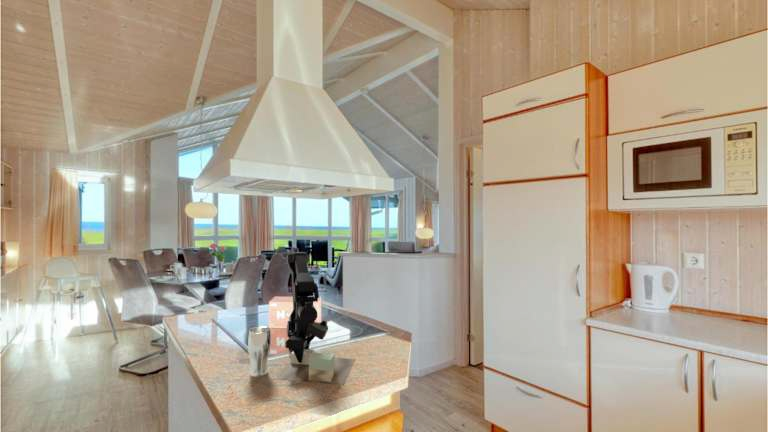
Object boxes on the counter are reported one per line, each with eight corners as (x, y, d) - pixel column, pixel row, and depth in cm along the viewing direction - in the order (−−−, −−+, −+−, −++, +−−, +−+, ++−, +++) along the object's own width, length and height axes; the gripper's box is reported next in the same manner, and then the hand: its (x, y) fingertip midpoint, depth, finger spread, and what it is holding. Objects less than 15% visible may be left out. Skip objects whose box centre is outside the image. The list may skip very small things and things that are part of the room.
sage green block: (308, 369, 111) (309, 358, 111) (313, 363, 116) (313, 352, 116) (330, 371, 111) (331, 359, 111) (334, 365, 115) (334, 354, 115)
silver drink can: (256, 382, 111) (258, 334, 111) (242, 376, 114) (243, 330, 114) (274, 374, 117) (275, 329, 117) (260, 369, 120) (261, 324, 120)
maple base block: (308, 380, 111) (308, 368, 111) (312, 373, 116) (313, 363, 116) (330, 381, 111) (330, 370, 111) (333, 375, 115) (334, 364, 115)
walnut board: (274, 382, 111) (274, 379, 111) (296, 357, 131) (296, 354, 131) (343, 388, 109) (343, 385, 109) (355, 361, 129) (355, 359, 129)
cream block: (290, 363, 123) (290, 353, 123) (295, 358, 128) (295, 348, 128) (310, 364, 123) (310, 354, 123) (313, 359, 127) (314, 349, 127)
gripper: (318, 325, 115) (317, 373, 115) (332, 310, 134) (331, 351, 134) (285, 322, 116) (283, 370, 116) (304, 308, 135) (302, 349, 135)
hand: (302, 359), depth 125 cm, fingers closed on cream block, 4 cm apart
